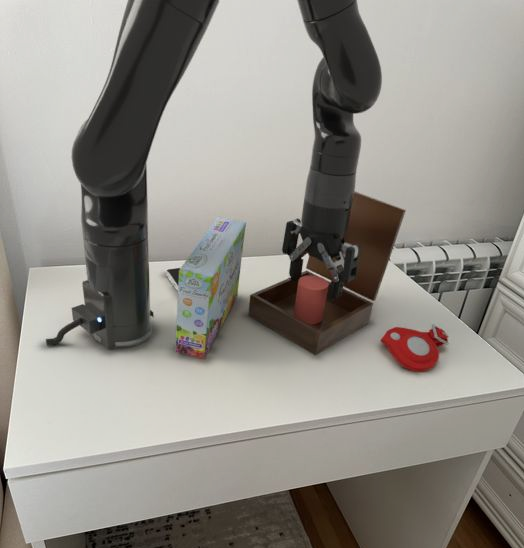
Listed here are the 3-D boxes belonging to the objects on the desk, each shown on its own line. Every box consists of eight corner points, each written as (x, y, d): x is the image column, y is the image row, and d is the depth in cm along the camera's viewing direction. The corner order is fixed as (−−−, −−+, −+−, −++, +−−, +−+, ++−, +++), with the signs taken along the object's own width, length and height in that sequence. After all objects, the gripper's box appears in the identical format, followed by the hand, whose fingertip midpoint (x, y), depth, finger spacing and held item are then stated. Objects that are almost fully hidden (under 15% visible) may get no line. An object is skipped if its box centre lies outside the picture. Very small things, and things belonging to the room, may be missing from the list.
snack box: (208, 361, 84) (213, 276, 74) (173, 353, 84) (174, 269, 75) (240, 295, 100) (247, 219, 91) (211, 289, 101) (215, 213, 92)
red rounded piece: (433, 375, 84) (378, 341, 86) (421, 390, 88) (369, 357, 90) (459, 329, 91) (407, 299, 93) (447, 344, 94) (397, 315, 97)
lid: (403, 210, 87) (418, 209, 91) (328, 182, 95) (345, 182, 99) (373, 301, 94) (387, 296, 98) (305, 268, 102) (321, 265, 106)
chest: (315, 355, 88) (319, 333, 85) (248, 315, 96) (250, 294, 93) (368, 323, 97) (373, 303, 95) (303, 289, 106) (306, 270, 103)
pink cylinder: (309, 327, 93) (316, 292, 89) (287, 315, 95) (292, 280, 91) (328, 318, 96) (334, 283, 92) (305, 306, 99) (311, 272, 95)
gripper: (278, 188, 84) (269, 279, 94) (351, 217, 77) (333, 313, 86) (308, 180, 89) (296, 268, 99) (380, 206, 82) (360, 298, 91)
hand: (314, 289), depth 92 cm, fingers open, 8 cm apart
